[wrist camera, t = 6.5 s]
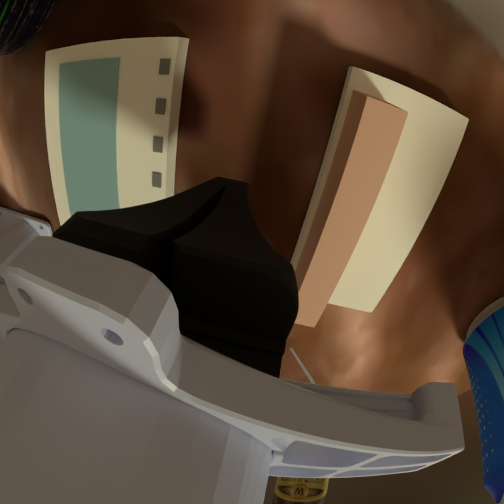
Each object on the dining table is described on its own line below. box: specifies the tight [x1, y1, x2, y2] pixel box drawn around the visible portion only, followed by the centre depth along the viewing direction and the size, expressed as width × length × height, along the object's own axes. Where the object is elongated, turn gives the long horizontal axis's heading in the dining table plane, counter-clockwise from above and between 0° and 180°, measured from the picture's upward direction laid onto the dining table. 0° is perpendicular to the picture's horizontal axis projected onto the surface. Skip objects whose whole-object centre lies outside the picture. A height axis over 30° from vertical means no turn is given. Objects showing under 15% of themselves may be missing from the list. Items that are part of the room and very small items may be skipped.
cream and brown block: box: [290, 66, 469, 327], centre depth 13 cm, size 6×13×4 cm, turn 170°
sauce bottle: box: [273, 477, 329, 504], centre depth 25 cm, size 6×6×20 cm
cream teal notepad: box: [45, 37, 189, 225], centre depth 14 cm, size 9×13×1 cm
